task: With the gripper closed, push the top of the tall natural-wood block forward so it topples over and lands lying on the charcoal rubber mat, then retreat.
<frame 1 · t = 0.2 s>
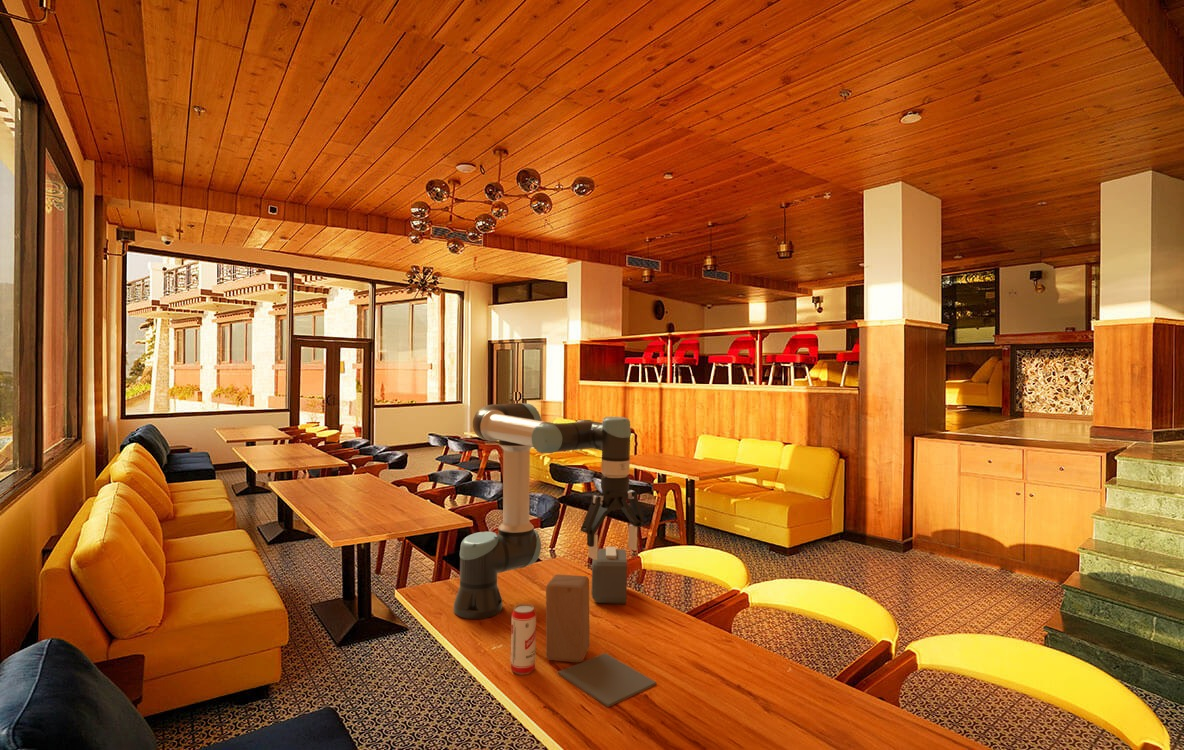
hand: (613, 553, 166), 28 cm above the table, fingers open, 13 cm apart
wooden block: (568, 655, 166), on the table, touching mat
alarm clock: (608, 597, 208), on the table
mat: (606, 679, 154), on the table
beer can: (522, 670, 158), on the table
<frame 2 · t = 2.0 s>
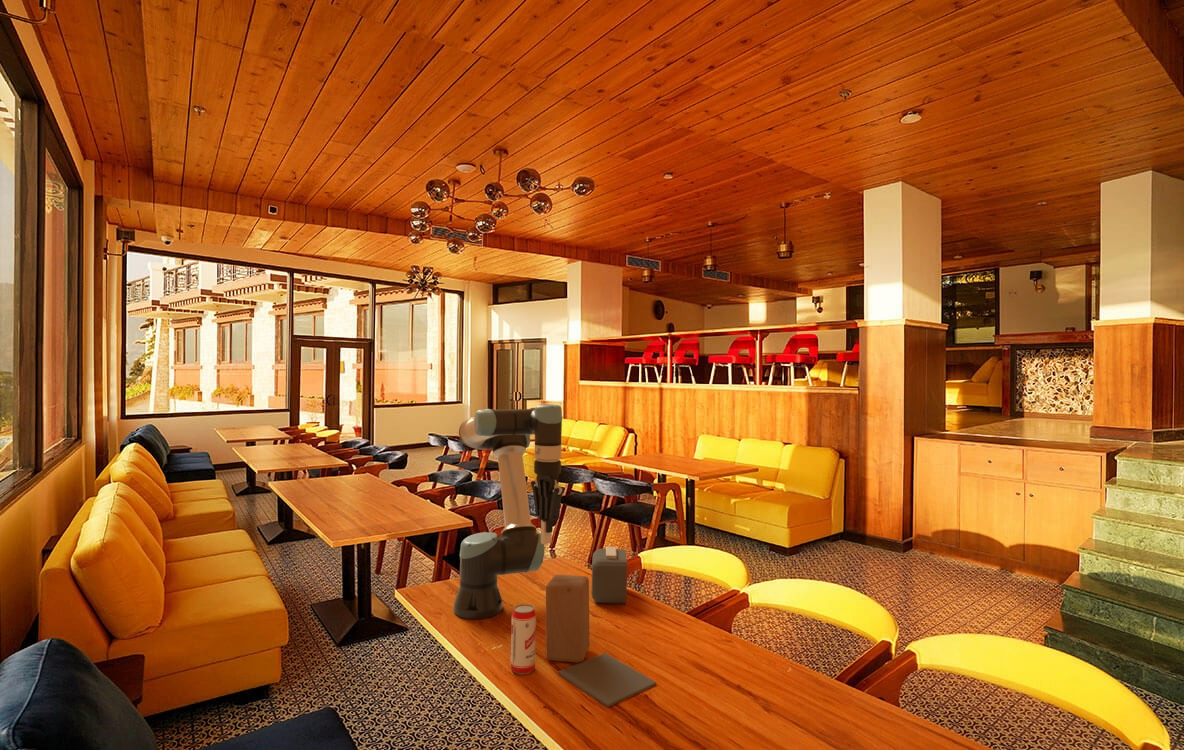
hand: (546, 542, 174), 28 cm above the table, fingers closed
nothing on the table moved.
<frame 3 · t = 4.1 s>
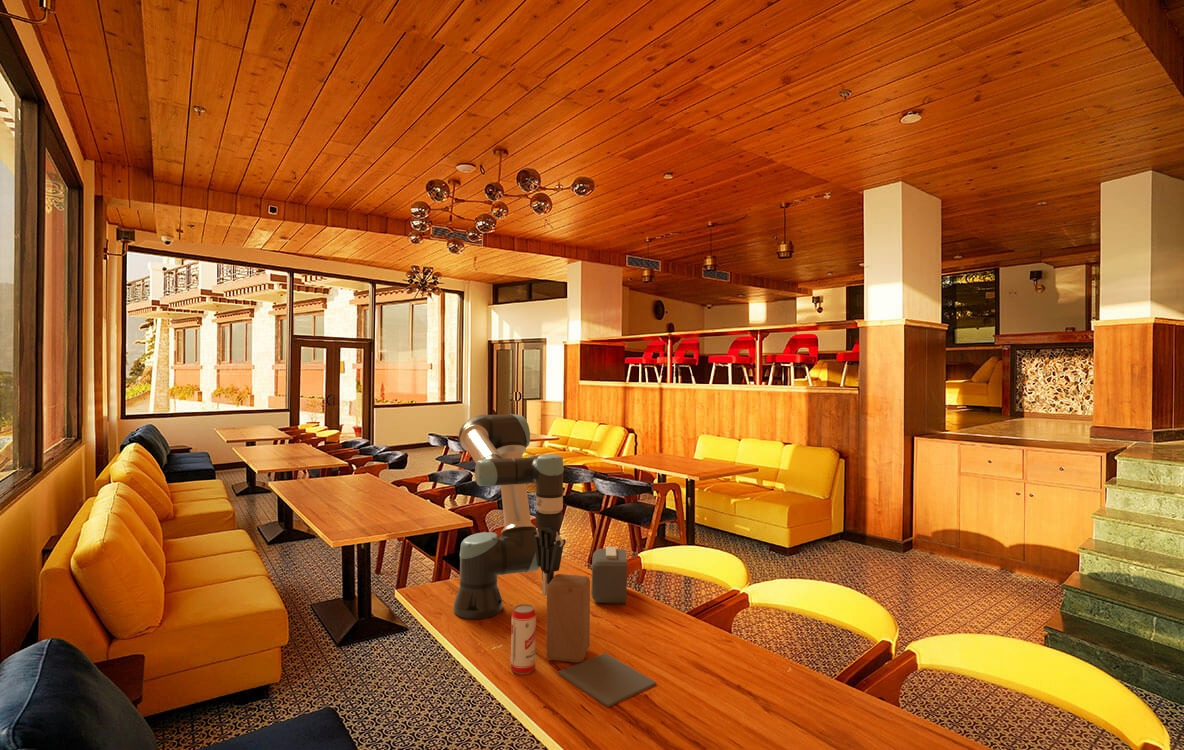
hand: (547, 594, 173), 14 cm above the table, fingers closed
wooden block: (568, 654, 166), on the table, touching gripper, mat
everything else where it was.
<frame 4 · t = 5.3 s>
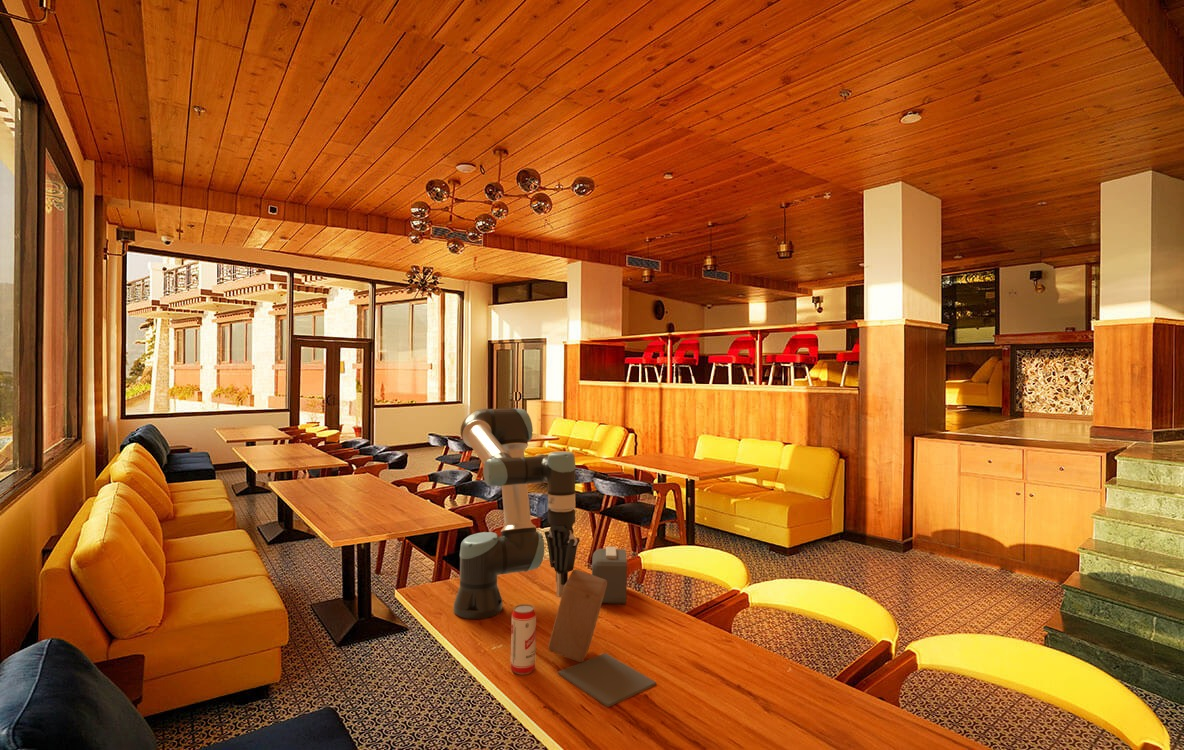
hand: (561, 595, 168), 15 cm above the table, fingers closed
wooden block: (569, 647, 166), point 2 cm above the table, touching gripper, hand, mat
everything else where it was.
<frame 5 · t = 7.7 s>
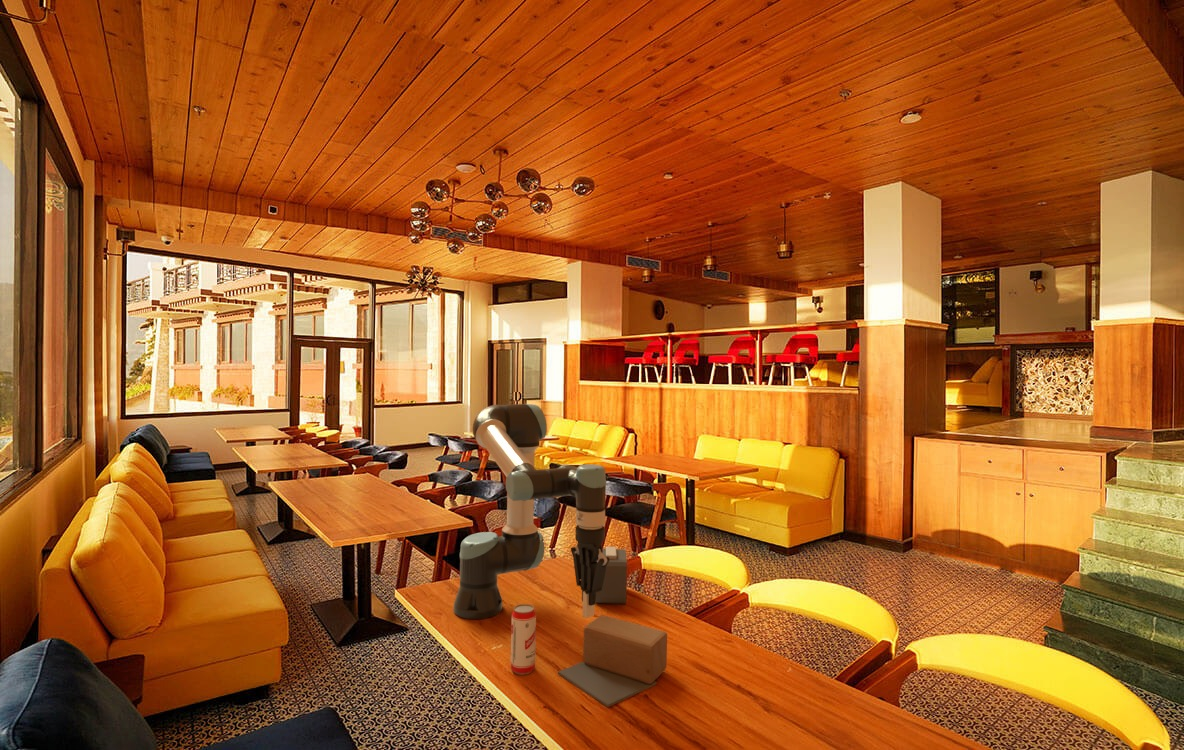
hand: (588, 615, 160), 14 cm above the table, fingers closed
wooden block: (591, 637, 165), point 6 cm above the table, touching mat
everything else where it was.
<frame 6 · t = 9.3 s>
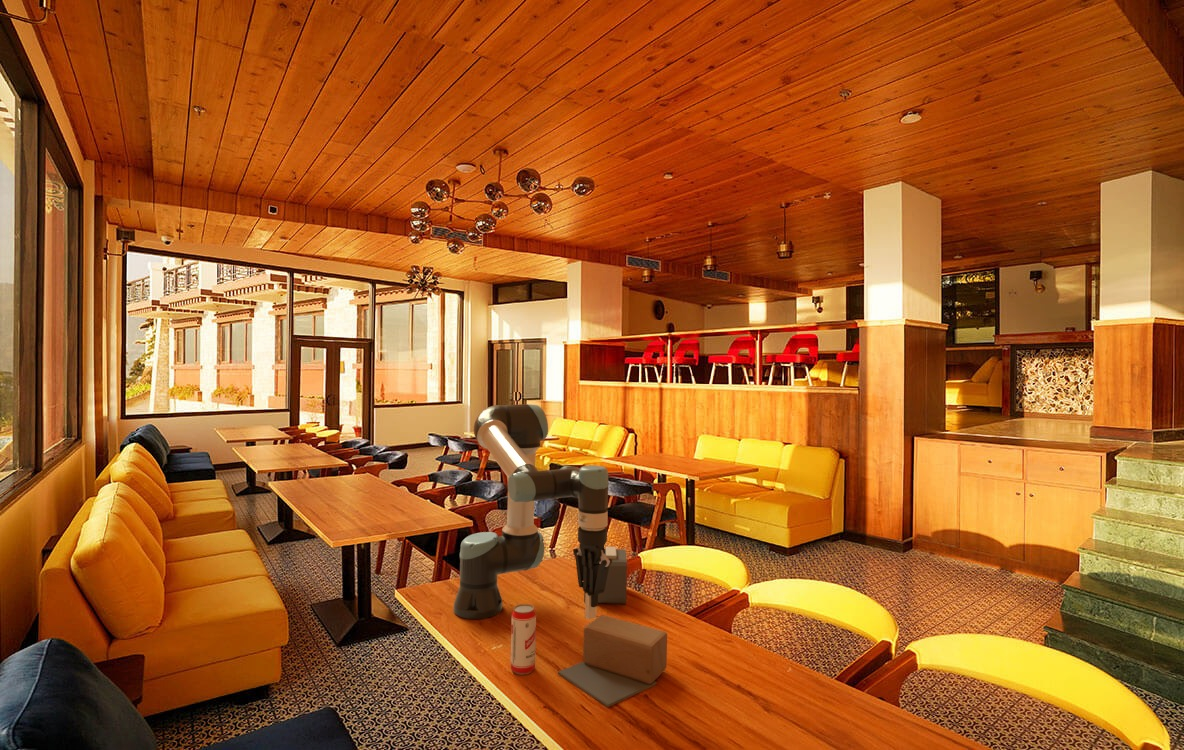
hand: (590, 617, 159), 13 cm above the table, fingers closed
nothing on the table moved.
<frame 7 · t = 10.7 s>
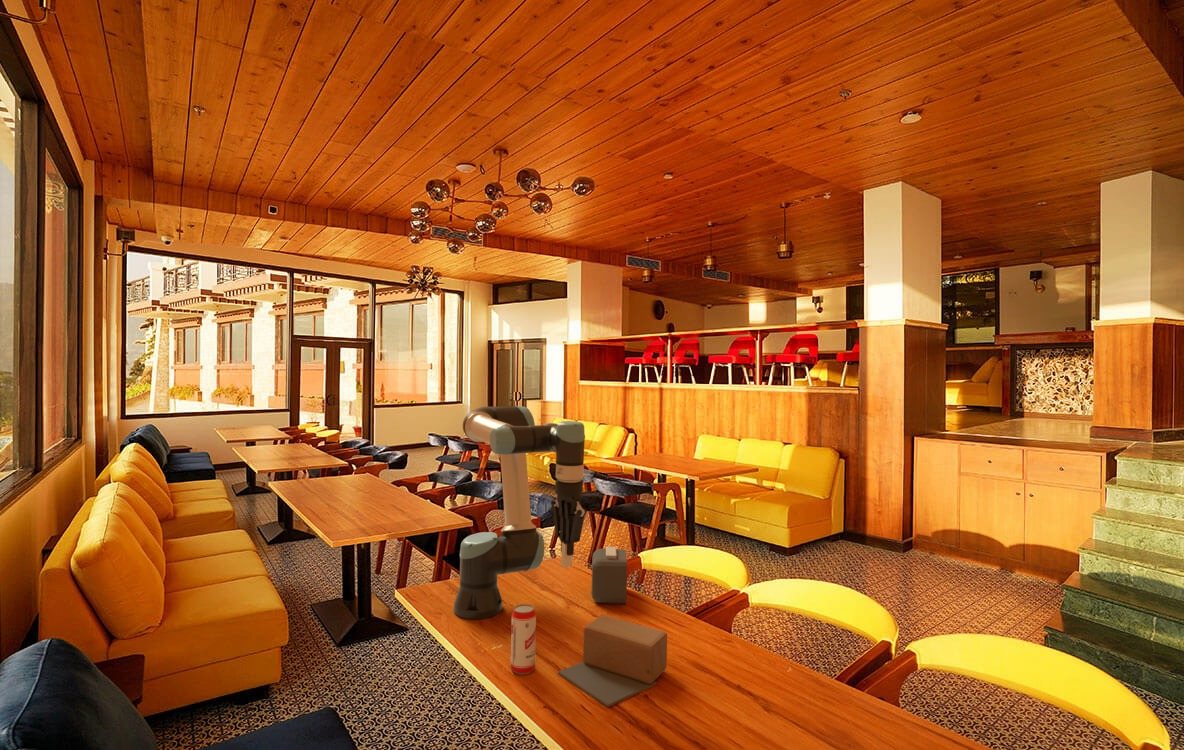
hand: (566, 565, 167), 24 cm above the table, fingers closed
nothing on the table moved.
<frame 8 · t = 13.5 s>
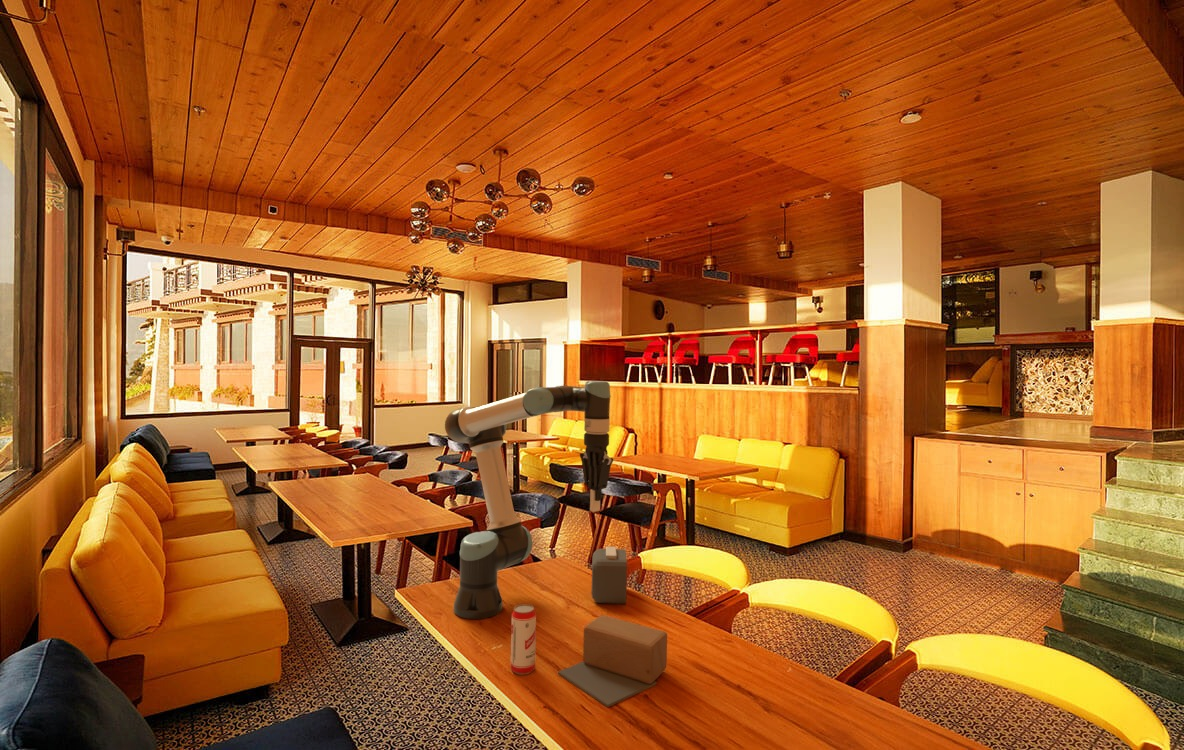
hand: (595, 510, 185), 34 cm above the table, fingers closed
nothing on the table moved.
at the end: wooden block tilted 90°; wooden block 11.2 cm from the mat (horizontally); wooden block point 5.6 cm above the table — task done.
